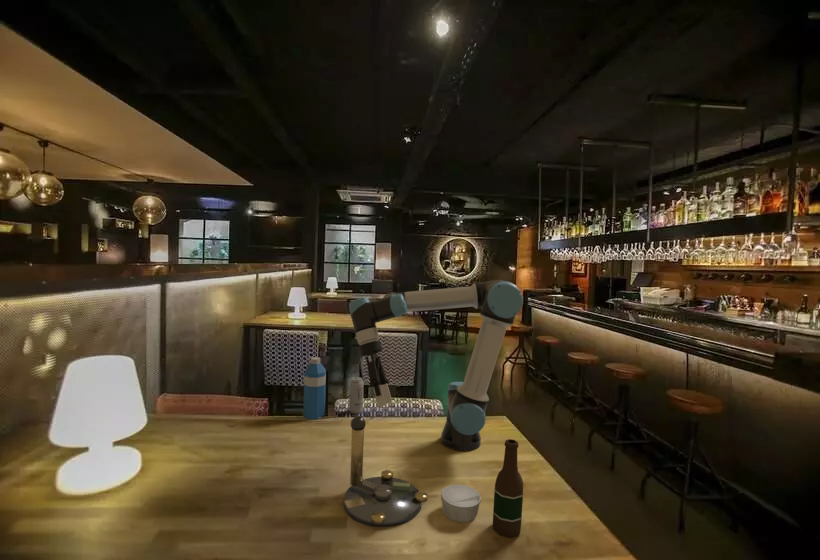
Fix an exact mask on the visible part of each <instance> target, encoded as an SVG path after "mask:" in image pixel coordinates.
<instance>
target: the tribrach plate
mask: <svg viewBox="0 0 820 560" xmlns="http://www.w3.org/2000/svg"><path fill="white" fill-rule="evenodd" d="M363 479H364V480H367V481H369V482H371V483H374V484H376V485H382V484H385V485H389V486H390V487H391V488H392V497H391V498H390V499H389V500H386V501H380V500H377V499H376V498H375V497H374V493H372V492H370V491H368V490H365V489H363V488H360V487H358V486H352V485H350V487H348V488H347V489H346V491H345V493H344V495H343V496H344V501H343V502H344V503H343V507H344V511H345V513H346V514H347V515H348V516H349V517H350V518H351V519H352V520H353V521H355V522H357V523H359V524H361V525H365V526H367V527H368V526H369V527H373V528H374V527H375V528H392V527H397V526H401V525H404V524H406V523H408V522H410V521H412V520H413V519H414V518H416V516H418V515H419V513H420V511H421V508H422V504H423V503H426V502H427V501H428V497H429V494H428V493H427V492H424V491H420V490H419V489H418V487H416V486H415V485H413V483H411V482H409V481H406V480H404V479H402V478H397V477H394V472H393V471H392V470H389V469H385V470H382V471H381V476H374V477H373V476H372V477H369V478H368V477H367V478H363Z"/></svg>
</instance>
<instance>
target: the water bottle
mask: <svg viewBox="0 0 820 560" xmlns="http://www.w3.org/2000/svg"><path fill="white" fill-rule="evenodd" d="M326 377H327V370H326V368H325V367H324V366H323V364H322V363H321V357H316V356H315V357H310V363H309V365H308V366H307V367H306V369H305V371H304V372H303V407H302V408H303V410H302V411H303V413H302V414H303V418H305V419H308V420H318V419H320V418H319V417H322V418H324V417H325V414H326V385H327V384H326V381H327V380H326V379H327V378H326Z"/></svg>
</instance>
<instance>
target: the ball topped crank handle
mask: <svg viewBox="0 0 820 560" xmlns="http://www.w3.org/2000/svg"><path fill="white" fill-rule="evenodd" d="M366 424H367V423H366V420H365V419H364V417H362V416H360V415H358V416H355V417H353V418H352V419H351V421H350V427H351V428H350V429H351V441H350V444H351V445H350V446H351V447H350V479H349V481H350V482H349V484H350V486H358V487H360V488H363V489H365V490H368V491H370V492H372V493H374V497H375V498H376V499H377V500H380V501H386V500H389V499H390V498H391V497H392V488H391V487H390V486H389V485H385V484H382V485H376V484H374V483H371V482H369V481H367V480H364V479H365V478H363V473H364V471H363V470H364V444H365V443H364V440H365V439H364V438H365V428H366Z"/></svg>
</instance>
